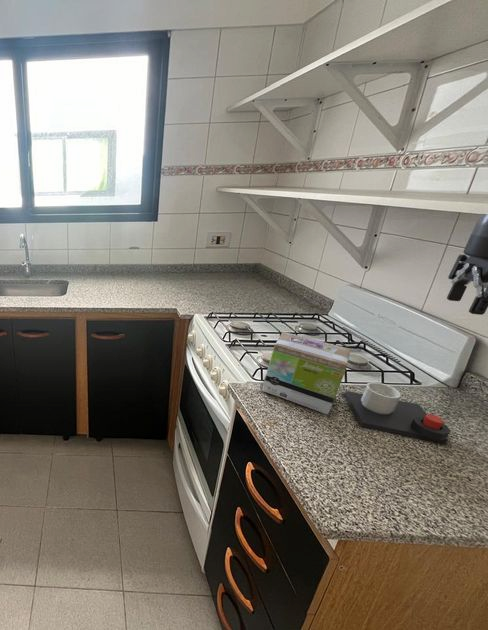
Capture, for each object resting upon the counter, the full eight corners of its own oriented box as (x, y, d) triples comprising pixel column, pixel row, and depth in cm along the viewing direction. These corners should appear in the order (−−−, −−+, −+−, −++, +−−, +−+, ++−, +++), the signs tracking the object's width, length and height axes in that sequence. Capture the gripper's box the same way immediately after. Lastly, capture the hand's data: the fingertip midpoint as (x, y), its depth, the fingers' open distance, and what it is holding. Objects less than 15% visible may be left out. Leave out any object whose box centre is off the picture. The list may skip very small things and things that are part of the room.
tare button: (435, 423, 77) (439, 416, 76) (442, 431, 74) (446, 424, 73) (419, 420, 78) (423, 412, 77) (425, 428, 75) (429, 420, 74)
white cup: (386, 402, 86) (394, 385, 84) (397, 417, 81) (405, 400, 79) (356, 396, 88) (363, 380, 86) (365, 411, 83) (372, 394, 81)
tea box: (260, 392, 92) (273, 343, 86) (269, 376, 99) (281, 329, 93) (329, 416, 83) (348, 363, 77) (333, 396, 90) (351, 346, 84)
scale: (418, 408, 85) (423, 398, 84) (450, 447, 74) (456, 436, 72) (344, 394, 91) (347, 385, 90) (362, 428, 79) (366, 418, 78)
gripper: (553, 242, 64) (508, 321, 70) (500, 229, 76) (466, 298, 82) (497, 239, 66) (460, 316, 73) (455, 227, 78) (426, 294, 85)
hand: (463, 306), depth 77 cm, fingers open, 8 cm apart
